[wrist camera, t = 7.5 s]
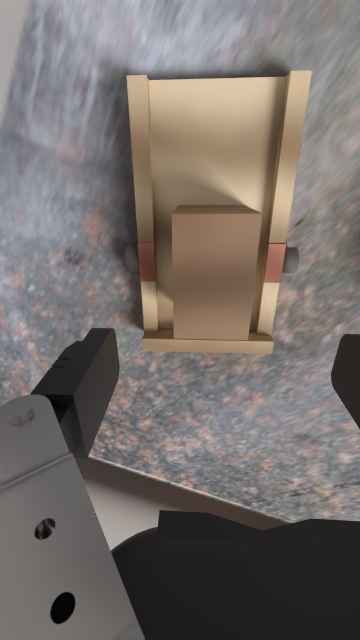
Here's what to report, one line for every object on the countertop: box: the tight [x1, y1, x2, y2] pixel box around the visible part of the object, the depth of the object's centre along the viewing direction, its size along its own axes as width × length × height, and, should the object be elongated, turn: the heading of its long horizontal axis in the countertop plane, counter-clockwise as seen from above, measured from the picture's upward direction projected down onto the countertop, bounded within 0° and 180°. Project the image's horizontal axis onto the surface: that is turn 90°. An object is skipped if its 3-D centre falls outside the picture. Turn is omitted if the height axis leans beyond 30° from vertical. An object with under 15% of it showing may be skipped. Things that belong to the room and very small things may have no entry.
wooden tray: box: [124, 71, 312, 354], centre depth 22 cm, size 19×13×3 cm
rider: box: [172, 205, 262, 340], centre depth 20 cm, size 8×5×6 cm, turn 0°
